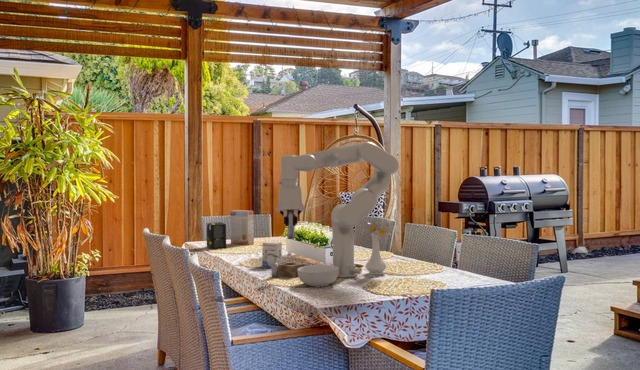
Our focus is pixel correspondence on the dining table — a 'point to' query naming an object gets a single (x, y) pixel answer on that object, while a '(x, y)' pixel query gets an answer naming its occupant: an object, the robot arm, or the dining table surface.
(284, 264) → the walnut hole block
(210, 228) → the tampon box
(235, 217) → the cracker box
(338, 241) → the robot arm
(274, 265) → the short steel pin
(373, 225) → the flower vase
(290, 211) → the long steel pin
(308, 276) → the cereal bowl
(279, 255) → the ink box
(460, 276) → the dining table surface
